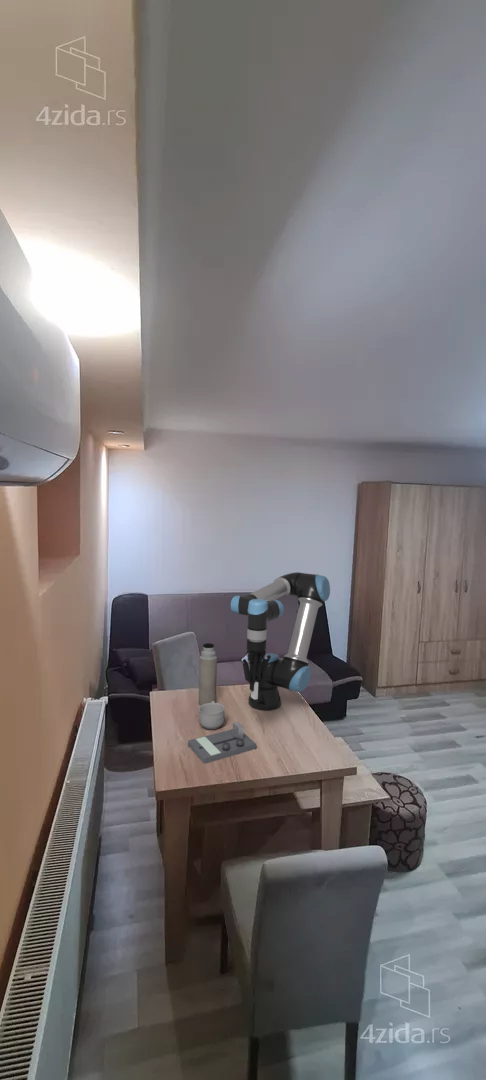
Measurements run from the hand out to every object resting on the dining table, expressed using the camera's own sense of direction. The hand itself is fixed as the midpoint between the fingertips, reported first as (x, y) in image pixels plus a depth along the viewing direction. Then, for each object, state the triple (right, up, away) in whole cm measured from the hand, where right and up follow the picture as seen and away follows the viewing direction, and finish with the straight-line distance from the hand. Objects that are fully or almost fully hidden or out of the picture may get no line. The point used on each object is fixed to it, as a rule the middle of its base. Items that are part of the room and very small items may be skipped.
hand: (254, 697), depth 182 cm
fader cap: (-6, -15, -2) cm, 16 cm away
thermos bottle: (-21, -14, +32) cm, 41 cm away
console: (-12, -17, -6) cm, 22 cm away
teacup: (-17, -16, +12) cm, 26 cm away
